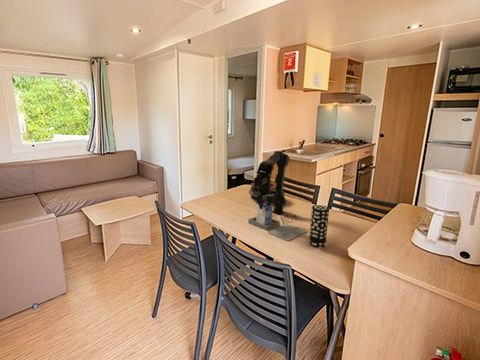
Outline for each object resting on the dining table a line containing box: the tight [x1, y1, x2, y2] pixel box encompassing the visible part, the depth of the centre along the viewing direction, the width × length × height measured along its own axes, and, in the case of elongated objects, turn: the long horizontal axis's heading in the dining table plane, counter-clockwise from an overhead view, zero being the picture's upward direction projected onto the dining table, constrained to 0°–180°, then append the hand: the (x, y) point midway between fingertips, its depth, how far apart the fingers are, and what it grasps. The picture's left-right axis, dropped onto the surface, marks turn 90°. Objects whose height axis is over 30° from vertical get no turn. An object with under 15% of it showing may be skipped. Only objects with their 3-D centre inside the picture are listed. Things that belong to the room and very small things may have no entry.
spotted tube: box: [308, 204, 330, 249], centre depth 137 cm, size 8×8×20 cm
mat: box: [267, 223, 308, 242], centre depth 152 cm, size 18×14×1 cm
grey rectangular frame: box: [247, 216, 281, 231], centre depth 163 cm, size 12×15×2 cm
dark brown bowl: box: [248, 182, 276, 204], centre depth 206 cm, size 24×24×16 cm
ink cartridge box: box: [255, 201, 273, 226], centre depth 162 cm, size 10×6×14 cm, turn 27°
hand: (264, 208), depth 161 cm, fingers open, 6 cm apart
